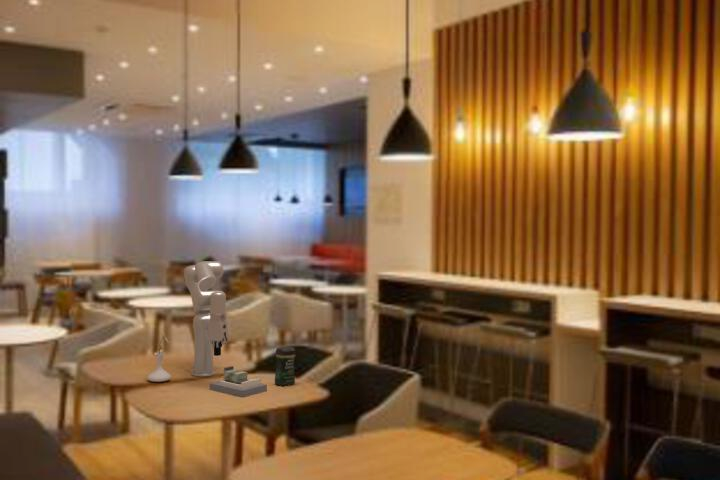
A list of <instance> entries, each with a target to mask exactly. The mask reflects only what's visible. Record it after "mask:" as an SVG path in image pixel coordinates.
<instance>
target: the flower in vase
mask: <svg viewBox="0 0 720 480" xmlns="http://www.w3.org/2000/svg"><path fill="white" fill-rule="evenodd" d="M160 332H161V335H162V338H161V340H160V342H159V345H158V349H157V351H158V352H154V355H155V357H156V367H155V369H154V370H153V371H152V372H151V373H149V374H148V375H147V380H148V381H150V382H153V383H154V382H156V383H160V382H161V383H162V382H166V381H168V380H169V381H170V380H171V378H172V376H171V374H170V373H169V372H168V371H166V370H164V368H163V365H162V363H163V357H164V355H165V354H166V353H165V352H161V351H160V350H162V349H163V347H162V345H161V343H162V341H163V340H165V341H166V343H167V344H170V341H169V339H168V338H167V335H166V334H165V333H164V330H162V329H161V330H160Z"/></svg>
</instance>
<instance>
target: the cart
mask: <svg viewBox="0 0 720 480" xmlns="http://www.w3.org/2000/svg"><path fill="white" fill-rule="evenodd" d="M222 376H223V379H222V380H225V381H226V382H229V381H232V382H235V384H239V383H240V382H245V381H247V379H248V372H247V371H243V370H238V369H235V368H234V366H233V365H232V366H231V365H230V366H226V367H224V370H223V375H222Z"/></svg>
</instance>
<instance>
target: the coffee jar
mask: <svg viewBox="0 0 720 480" xmlns="http://www.w3.org/2000/svg"><path fill="white" fill-rule="evenodd" d="M275 357H276V364H275V366H276V368H275V373H274V384H275V385H277V386H281V387H283V386H284V387H285V386H292V385H294V384H295V381H296V379H295V377H296V376H295V357H296V348H295V347H293V346H282V347H277V348H276V351H275Z"/></svg>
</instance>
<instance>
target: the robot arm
mask: <svg viewBox="0 0 720 480" xmlns="http://www.w3.org/2000/svg"><path fill="white" fill-rule="evenodd" d="M183 272H184V273H183V275H184V277H183V278H184V282H185V285H186V287H187V289H188V290H189V293H190V296H191V303H192V308H193V312H194V313H195V314H196V315H195V316H194V317H193V320H192V321H193V322H192V326H193V332H194V356H193V358H194V361H193V362H194V363H193V364H192V365H190V366H189V367H190V369H192V370H191V372H190V375H191V376H193V377H212V376H215V375H216V373H217V372H216V370H214V356H216V357H219V356H221V355H222V347H223V345H226V344H227V341H229V326H228V324H229V322H228V316H227V312H226V310H227V308H226V307H227V294H226V293H225V292H224V291H223V290H211V289H212V288H213V287H214V286H215V285H216V283H217V280H219V279H221V277H223V275H224V266H223V264H222V262H220V261H215V260H212V261H211V260H209V261H207V260H206V261H205V260H204V261H203V260H202V261H199V262H197V263H196V264H195V265H190V266H186V268H185V269H184V271H183Z"/></svg>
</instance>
